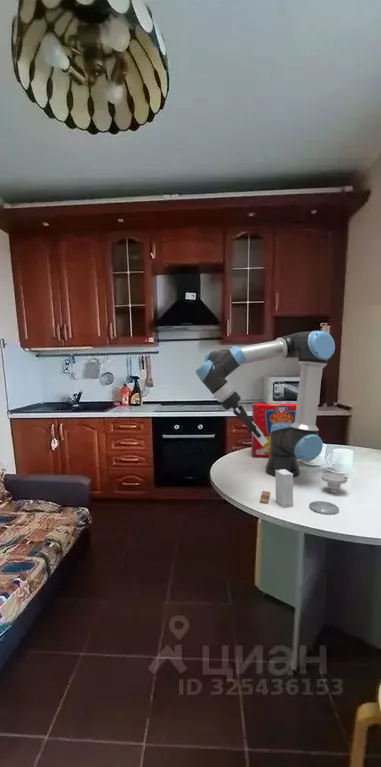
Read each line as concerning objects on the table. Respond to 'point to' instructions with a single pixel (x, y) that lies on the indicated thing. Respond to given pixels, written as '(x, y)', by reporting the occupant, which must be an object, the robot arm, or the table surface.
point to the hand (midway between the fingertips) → (262, 439)
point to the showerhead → (334, 480)
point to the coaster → (324, 507)
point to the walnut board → (265, 497)
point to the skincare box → (284, 488)
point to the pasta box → (269, 423)
